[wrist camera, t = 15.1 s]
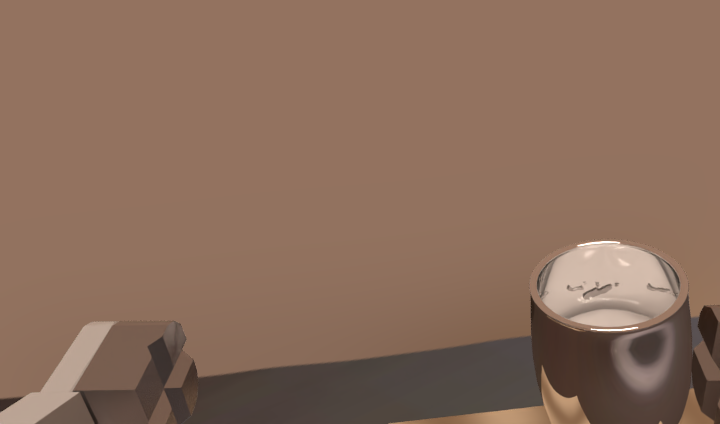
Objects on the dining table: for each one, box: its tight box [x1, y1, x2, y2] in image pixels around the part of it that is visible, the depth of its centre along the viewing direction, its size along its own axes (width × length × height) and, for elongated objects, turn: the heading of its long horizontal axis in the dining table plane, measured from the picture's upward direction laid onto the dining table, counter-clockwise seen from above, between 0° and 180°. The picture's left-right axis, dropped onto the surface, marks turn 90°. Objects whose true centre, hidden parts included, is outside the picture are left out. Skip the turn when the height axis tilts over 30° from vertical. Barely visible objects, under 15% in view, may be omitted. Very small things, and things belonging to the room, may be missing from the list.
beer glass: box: [529, 239, 692, 424], centre depth 34 cm, size 7×7×15 cm
